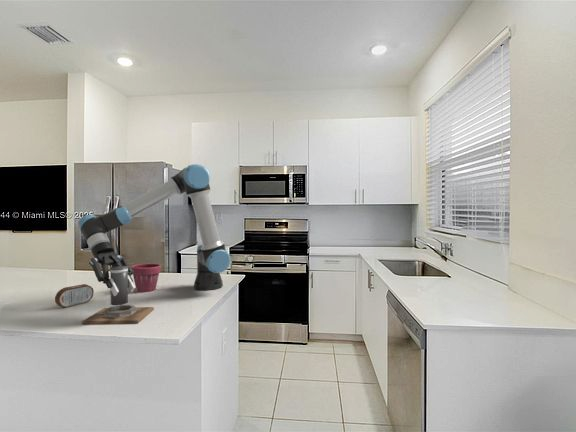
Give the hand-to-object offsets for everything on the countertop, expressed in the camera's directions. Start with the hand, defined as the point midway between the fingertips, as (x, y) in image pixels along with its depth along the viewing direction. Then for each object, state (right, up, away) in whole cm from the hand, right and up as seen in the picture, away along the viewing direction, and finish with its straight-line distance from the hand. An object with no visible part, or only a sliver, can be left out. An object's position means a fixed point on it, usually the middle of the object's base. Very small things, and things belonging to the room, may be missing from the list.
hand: (124, 291), depth 124 cm
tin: (-31, -10, +18) cm, 37 cm away
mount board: (-3, -10, +2) cm, 11 cm away
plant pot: (-11, -10, +44) cm, 46 cm away
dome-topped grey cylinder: (-3, -5, +2) cm, 6 cm away
